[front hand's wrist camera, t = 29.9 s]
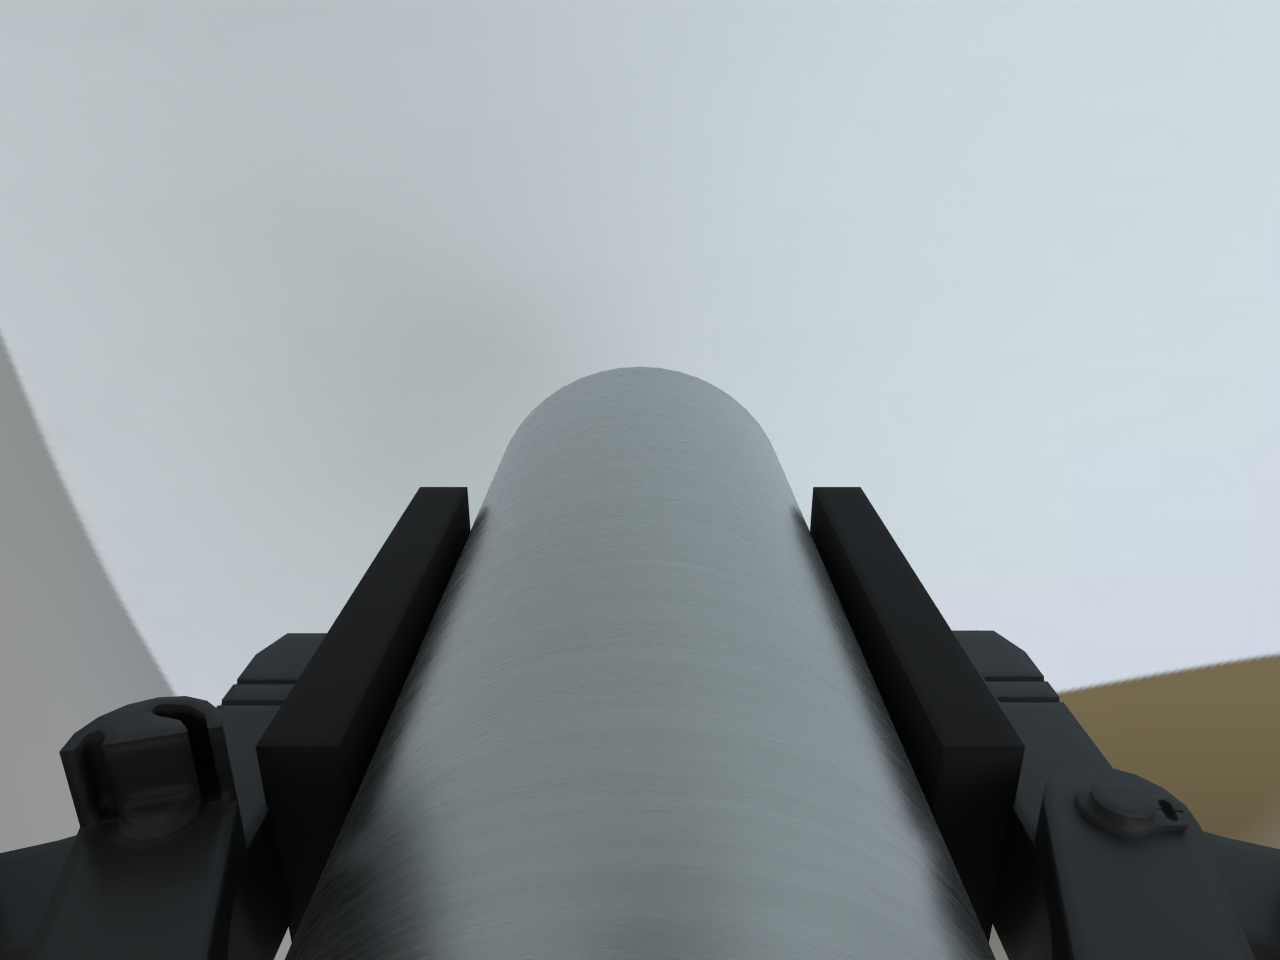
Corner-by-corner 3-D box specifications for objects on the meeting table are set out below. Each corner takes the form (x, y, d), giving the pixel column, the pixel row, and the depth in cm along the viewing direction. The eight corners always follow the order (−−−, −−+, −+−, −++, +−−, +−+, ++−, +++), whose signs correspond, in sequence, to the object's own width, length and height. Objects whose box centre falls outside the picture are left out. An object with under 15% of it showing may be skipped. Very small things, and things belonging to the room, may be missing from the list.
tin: (545, 660, 18) (370, 1613, 6) (455, 409, 16) (-24, 1108, 5) (810, 597, 18) (1149, 1506, 6) (749, 331, 16) (1071, 889, 4)
